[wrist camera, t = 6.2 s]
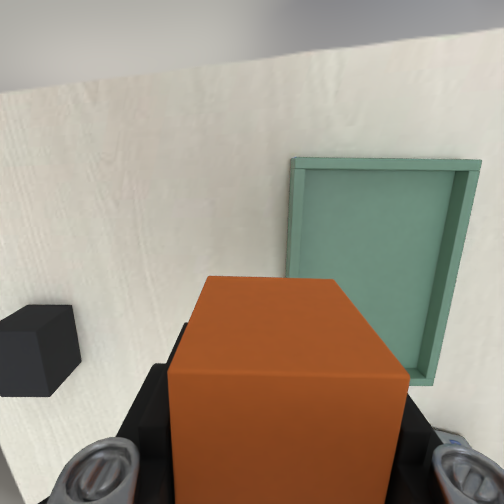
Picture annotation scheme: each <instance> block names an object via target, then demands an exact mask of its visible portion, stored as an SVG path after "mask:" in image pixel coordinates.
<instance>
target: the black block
mask: <svg viewBox="0 0 504 504" xmlns="http://www.w3.org/2000/svg"><path fill="white" fill-rule="evenodd" d="M80 363H81V356H80V350H79V345H78V339H77V333H76V327H75V321H74V316H73V310H72V305H26V306H25V307H23V308H21V309H20V310H18V311H16V312H15V313H13V314H11V315H9V316H8V317H6V318H4V319H3V320H1V321H0V396H1V397H50V396H51V395H52V394H53V393H54V392H55V391H56V390H57V389H58V387H59V386H60V385H61V384H62V383H63V382H64V381H65V380H66V378H67V377H68V376H69V375H70V374H71V373H72V372H73V371H74V370H75V368H76V367H77V366H78V365H79V364H80Z"/></svg>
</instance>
